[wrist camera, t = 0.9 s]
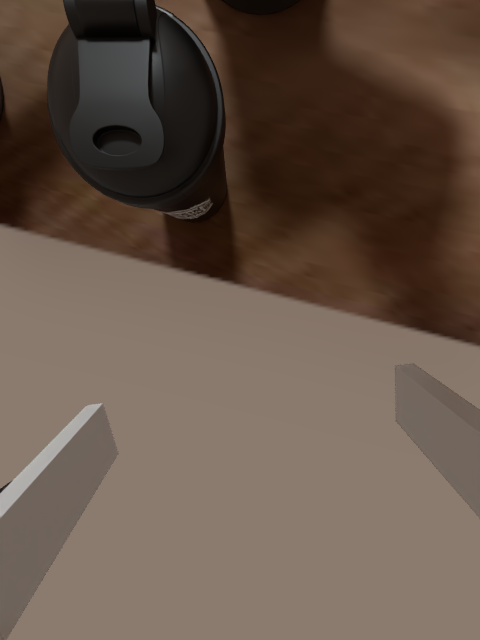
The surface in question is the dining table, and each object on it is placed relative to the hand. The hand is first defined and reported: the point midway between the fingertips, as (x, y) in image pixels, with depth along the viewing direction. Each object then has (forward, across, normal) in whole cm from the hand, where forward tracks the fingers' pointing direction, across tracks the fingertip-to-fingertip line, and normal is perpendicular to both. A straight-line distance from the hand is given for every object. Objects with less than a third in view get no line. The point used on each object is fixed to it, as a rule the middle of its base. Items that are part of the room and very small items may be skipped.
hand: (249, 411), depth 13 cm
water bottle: (+27, -4, +15) cm, 32 cm away
